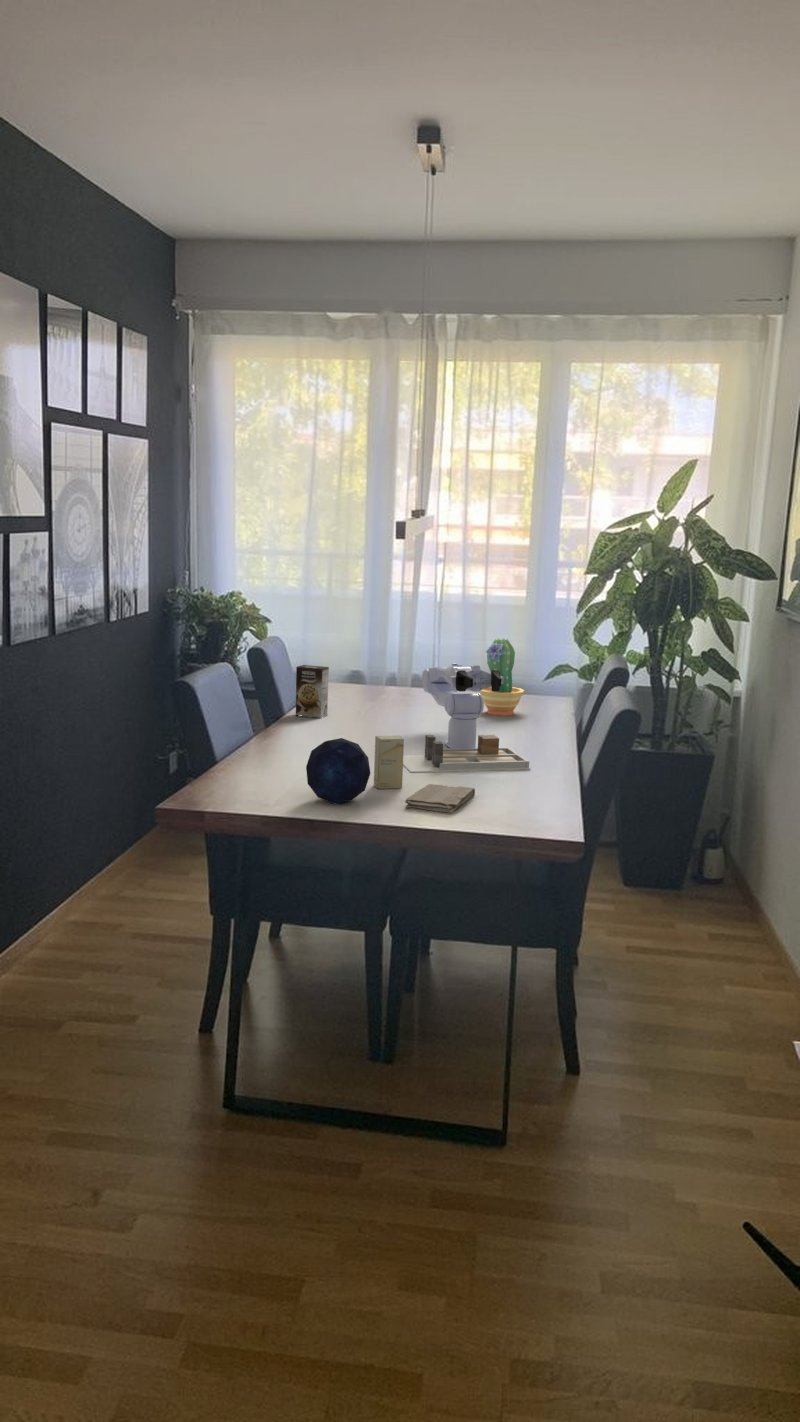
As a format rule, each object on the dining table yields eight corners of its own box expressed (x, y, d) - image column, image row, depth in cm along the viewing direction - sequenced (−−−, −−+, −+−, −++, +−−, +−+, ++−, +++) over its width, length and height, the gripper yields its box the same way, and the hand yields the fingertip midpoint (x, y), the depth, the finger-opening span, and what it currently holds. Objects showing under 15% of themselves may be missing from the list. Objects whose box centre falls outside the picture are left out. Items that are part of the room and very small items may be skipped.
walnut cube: (477, 751, 282) (478, 735, 281) (493, 751, 283) (494, 734, 282) (482, 755, 278) (483, 738, 277) (498, 754, 279) (499, 738, 278)
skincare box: (377, 789, 246) (378, 739, 243) (373, 784, 250) (374, 735, 248) (403, 788, 247) (404, 738, 245) (398, 783, 251) (399, 734, 249)
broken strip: (430, 762, 272) (431, 740, 271) (511, 760, 277) (512, 738, 276) (436, 767, 266) (437, 744, 265) (518, 765, 271) (519, 743, 270)
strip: (423, 755, 280) (424, 733, 279) (501, 753, 284) (502, 732, 283) (428, 760, 274) (429, 738, 273) (508, 758, 279) (509, 736, 278)
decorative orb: (393, 780, 233) (365, 722, 237) (346, 792, 222) (318, 731, 226) (356, 807, 242) (330, 751, 246) (309, 820, 231) (282, 761, 234)
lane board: (395, 756, 280) (395, 749, 280) (508, 754, 287) (508, 746, 287) (410, 772, 263) (410, 765, 262) (530, 769, 270) (530, 761, 269)
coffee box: (294, 716, 334) (295, 666, 331) (302, 713, 340) (302, 664, 337) (321, 718, 331) (321, 668, 328) (328, 715, 337) (329, 666, 334)
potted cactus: (469, 710, 353) (472, 637, 348) (508, 707, 359) (511, 635, 355) (492, 718, 339) (495, 642, 335) (532, 715, 346) (535, 641, 341)
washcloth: (402, 811, 230) (403, 797, 229) (427, 792, 246) (427, 779, 246) (454, 817, 226) (454, 803, 225) (475, 797, 243) (476, 784, 242)
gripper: (445, 664, 282) (459, 667, 269) (496, 664, 286) (512, 667, 272) (445, 690, 283) (458, 694, 270) (496, 689, 286) (512, 693, 273)
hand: (485, 682), depth 271 cm, fingers open, 7 cm apart
